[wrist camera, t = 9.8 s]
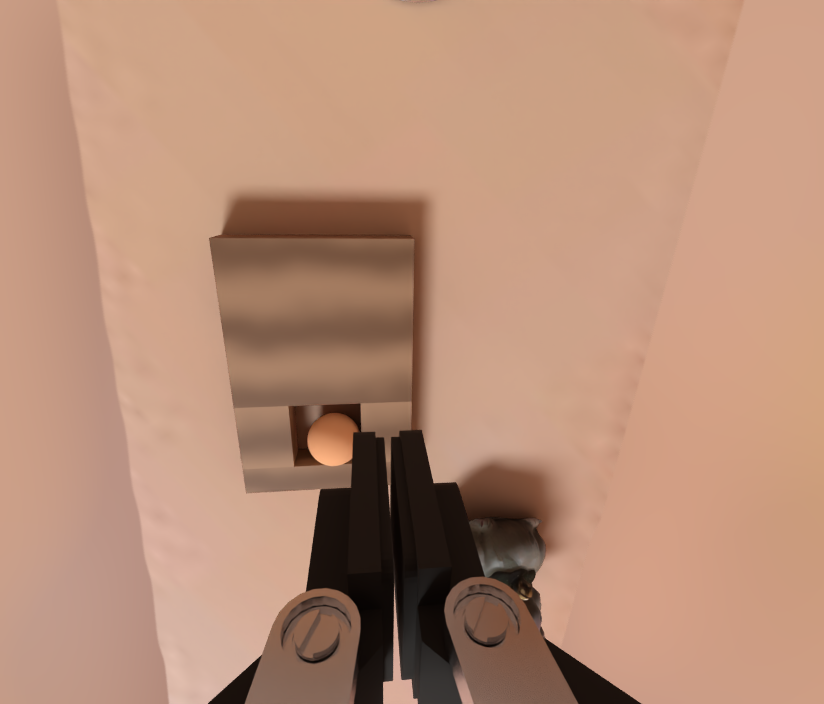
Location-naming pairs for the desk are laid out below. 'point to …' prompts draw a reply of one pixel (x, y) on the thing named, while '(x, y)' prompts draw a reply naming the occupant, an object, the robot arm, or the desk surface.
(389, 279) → the board
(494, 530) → the lucky cat figurine
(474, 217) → the desk surface
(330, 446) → the ball
